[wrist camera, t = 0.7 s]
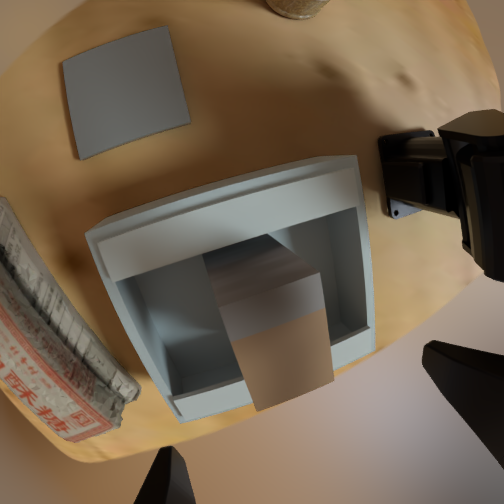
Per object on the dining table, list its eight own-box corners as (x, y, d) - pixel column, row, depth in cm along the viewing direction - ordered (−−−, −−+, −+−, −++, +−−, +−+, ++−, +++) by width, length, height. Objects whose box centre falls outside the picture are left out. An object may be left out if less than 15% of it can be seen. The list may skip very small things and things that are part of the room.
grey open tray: (318, 156, 19) (360, 154, 14) (344, 321, 23) (378, 353, 18) (106, 217, 16) (81, 235, 12) (177, 381, 21) (180, 427, 16)
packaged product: (145, 428, 16) (61, 456, 16) (147, 384, 21) (71, 419, 20) (-31, 200, 10) (-85, 283, 9) (8, 191, 14) (-52, 263, 14)
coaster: (167, 29, 14) (167, 25, 13) (190, 123, 16) (191, 122, 16) (65, 64, 13) (62, 61, 12) (83, 160, 15) (80, 160, 14)
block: (261, 229, 18) (319, 272, 11) (281, 310, 20) (334, 380, 13) (200, 248, 18) (218, 307, 10) (227, 329, 20) (256, 411, 12)
